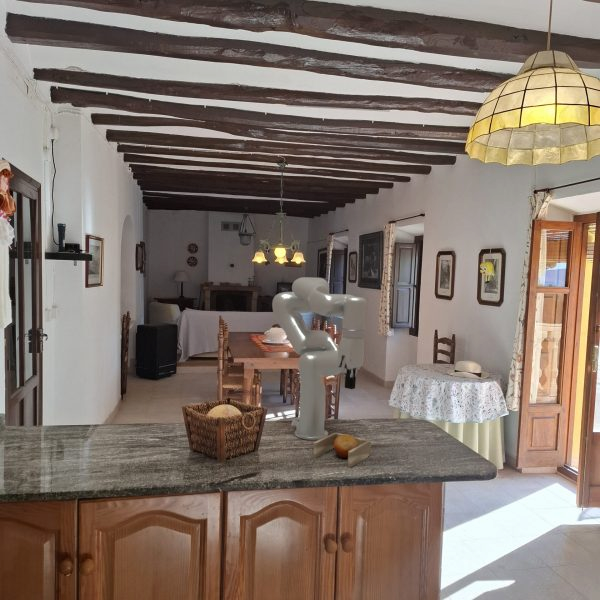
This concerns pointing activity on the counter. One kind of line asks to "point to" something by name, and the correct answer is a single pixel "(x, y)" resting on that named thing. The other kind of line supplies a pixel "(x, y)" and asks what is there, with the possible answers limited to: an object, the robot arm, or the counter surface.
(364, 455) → the box
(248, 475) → the counter surface
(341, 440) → the fruit
